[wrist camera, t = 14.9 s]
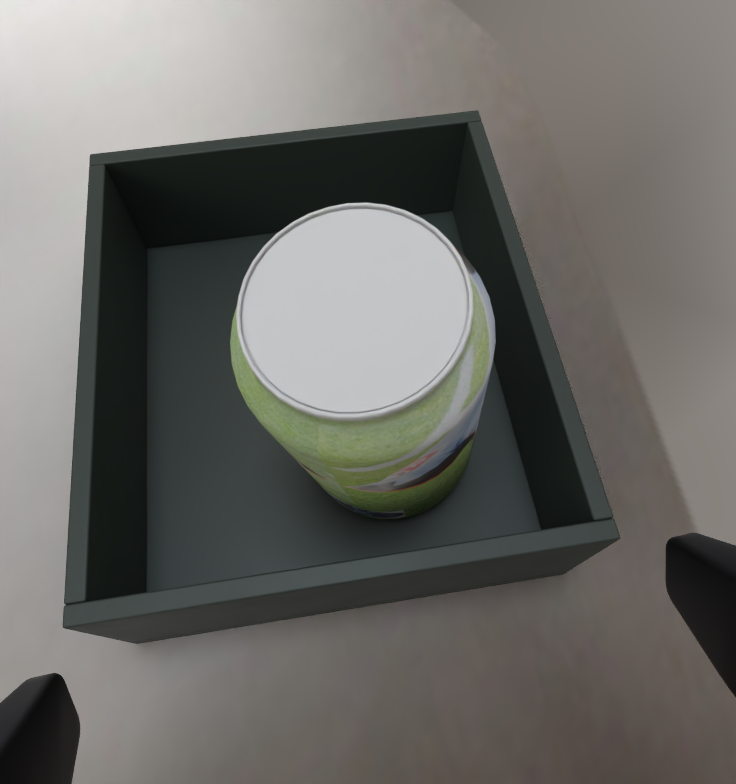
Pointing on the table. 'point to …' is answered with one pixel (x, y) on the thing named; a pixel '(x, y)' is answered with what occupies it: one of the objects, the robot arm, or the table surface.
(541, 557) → the open square box
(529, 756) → the table surface
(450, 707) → the table surface
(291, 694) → the table surface
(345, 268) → the beverage can
